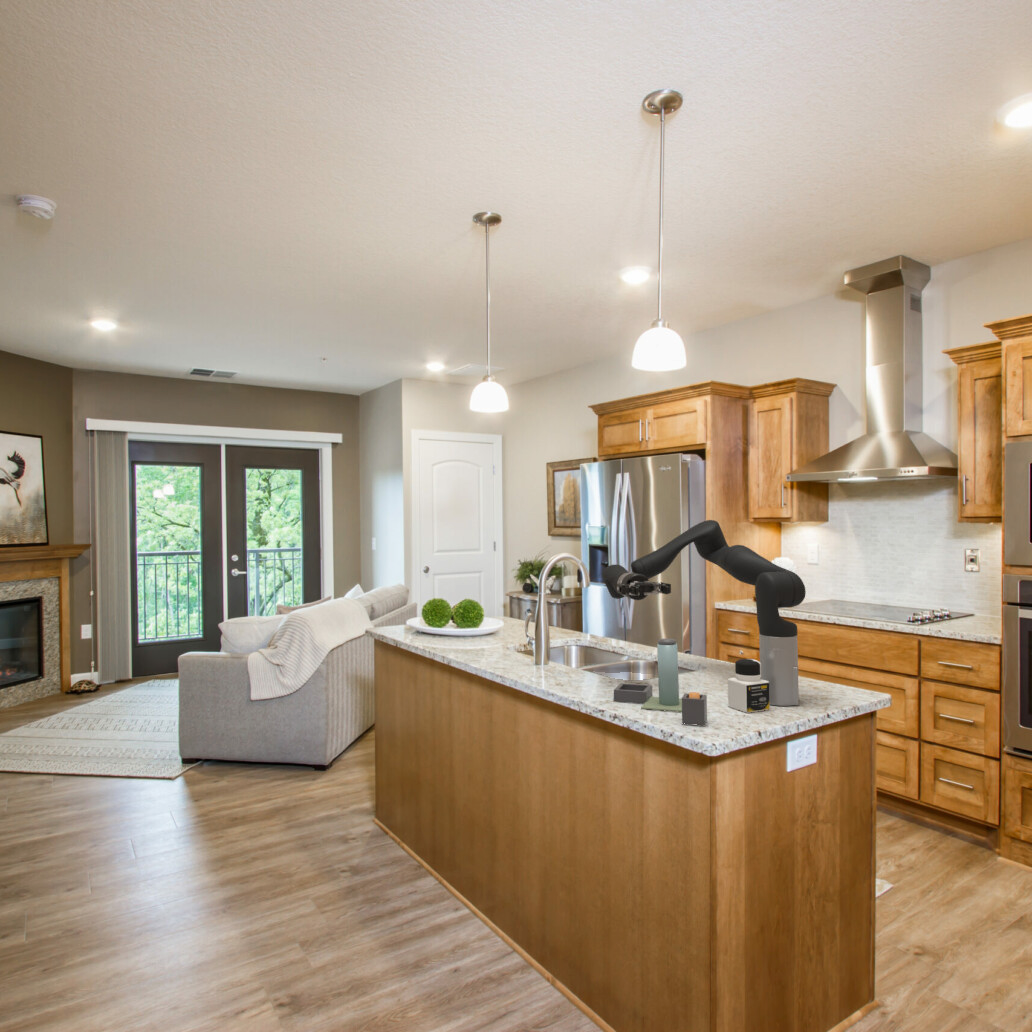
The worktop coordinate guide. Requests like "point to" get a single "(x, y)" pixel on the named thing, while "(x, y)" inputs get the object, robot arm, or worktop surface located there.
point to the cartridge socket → (632, 693)
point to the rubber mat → (654, 704)
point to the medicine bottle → (748, 687)
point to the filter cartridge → (668, 672)
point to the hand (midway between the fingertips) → (652, 590)
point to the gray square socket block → (694, 710)
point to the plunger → (694, 695)
